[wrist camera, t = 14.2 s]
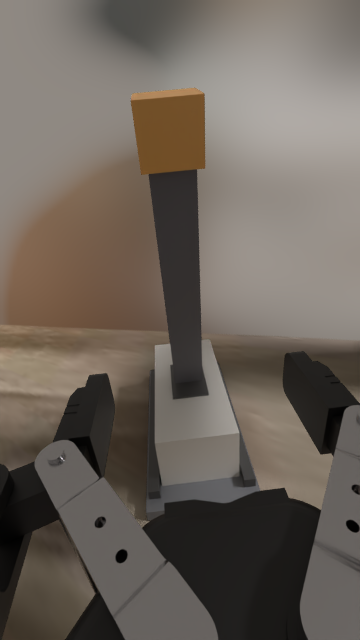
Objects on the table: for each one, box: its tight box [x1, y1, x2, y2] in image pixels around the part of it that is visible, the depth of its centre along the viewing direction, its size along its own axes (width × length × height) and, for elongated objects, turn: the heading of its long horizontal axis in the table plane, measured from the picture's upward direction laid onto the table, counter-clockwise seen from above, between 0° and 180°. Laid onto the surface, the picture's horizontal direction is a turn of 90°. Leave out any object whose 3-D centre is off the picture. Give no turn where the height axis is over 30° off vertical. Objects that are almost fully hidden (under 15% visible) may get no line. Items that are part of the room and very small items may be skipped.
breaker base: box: [146, 339, 260, 521], centre depth 30 cm, size 18×9×6 cm, turn 4°
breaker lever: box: [131, 88, 205, 384], centre depth 21 cm, size 3×3×21 cm
